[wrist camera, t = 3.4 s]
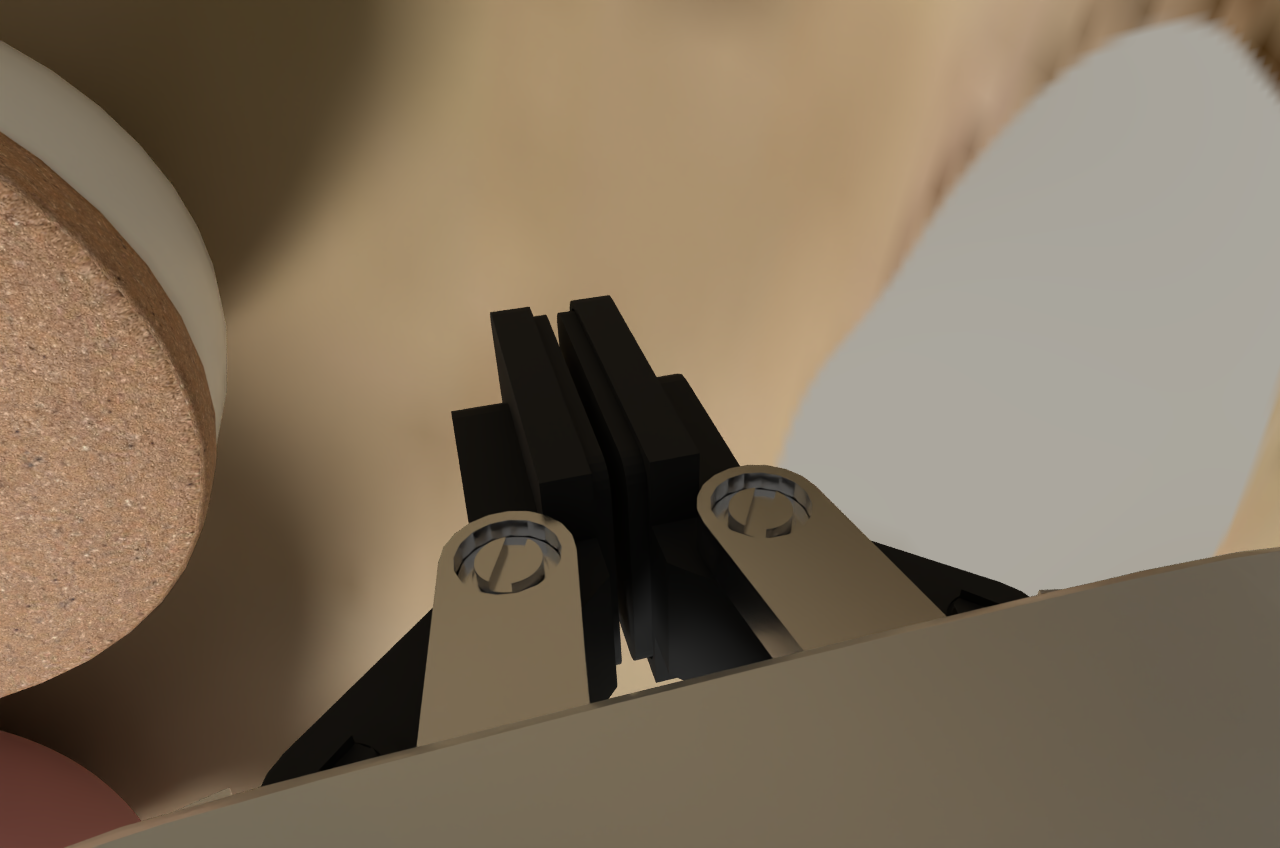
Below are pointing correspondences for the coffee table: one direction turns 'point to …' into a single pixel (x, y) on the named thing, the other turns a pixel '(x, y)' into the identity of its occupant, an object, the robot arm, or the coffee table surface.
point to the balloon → (52, 798)
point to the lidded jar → (95, 378)
